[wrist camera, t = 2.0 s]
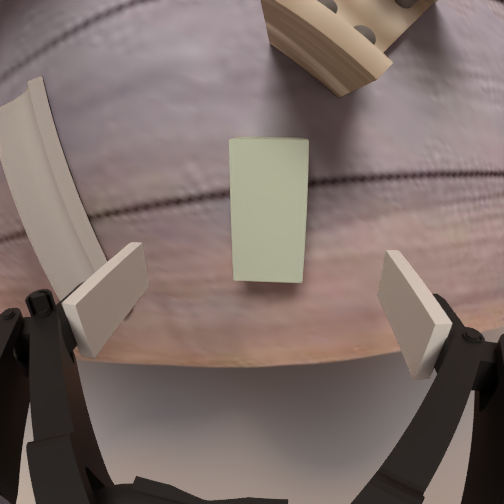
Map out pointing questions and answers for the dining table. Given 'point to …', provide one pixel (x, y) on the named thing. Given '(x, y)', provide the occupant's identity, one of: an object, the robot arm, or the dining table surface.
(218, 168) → the dining table surface
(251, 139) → the pale green block
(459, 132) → the dining table surface
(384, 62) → the frame
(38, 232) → the crown molding
